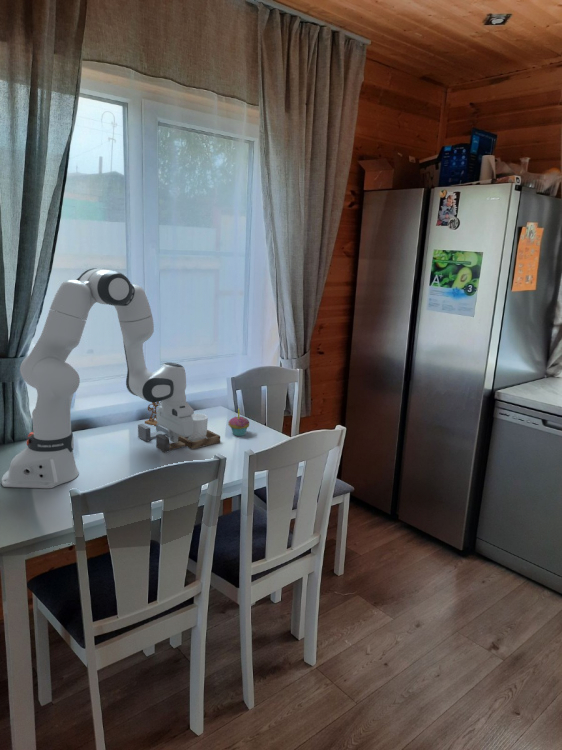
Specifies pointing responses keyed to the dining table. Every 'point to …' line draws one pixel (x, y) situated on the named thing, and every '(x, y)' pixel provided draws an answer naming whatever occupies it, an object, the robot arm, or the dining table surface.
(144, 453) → the dining table surface
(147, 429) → the grey frame
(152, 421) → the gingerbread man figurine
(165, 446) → the walnut frame
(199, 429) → the white cup
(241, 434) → the cupcake
